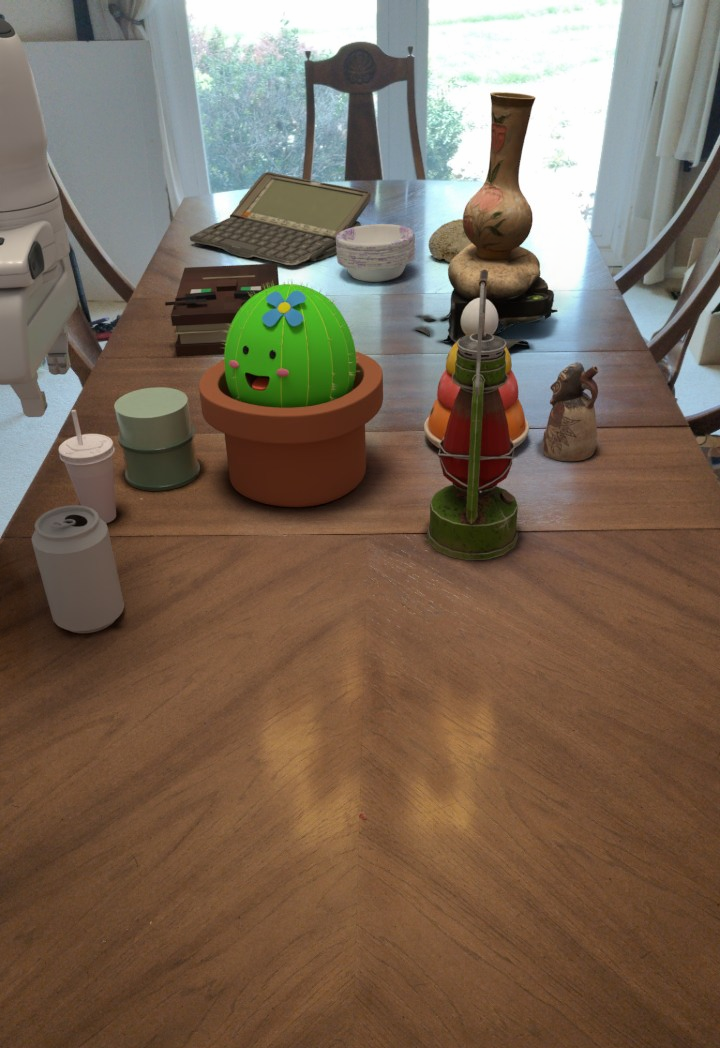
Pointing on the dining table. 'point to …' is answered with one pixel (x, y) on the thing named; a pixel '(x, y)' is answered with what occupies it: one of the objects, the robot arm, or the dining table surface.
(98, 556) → the can
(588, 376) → the figurine
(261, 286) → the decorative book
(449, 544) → the lantern
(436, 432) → the stacking toy
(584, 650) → the dining table surface
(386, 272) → the paper bowls
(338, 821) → the dining table surface
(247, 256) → the laptop
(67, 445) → the smoothie
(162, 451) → the cup stack
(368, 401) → the potted cactus
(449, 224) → the decorative item
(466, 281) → the vase
